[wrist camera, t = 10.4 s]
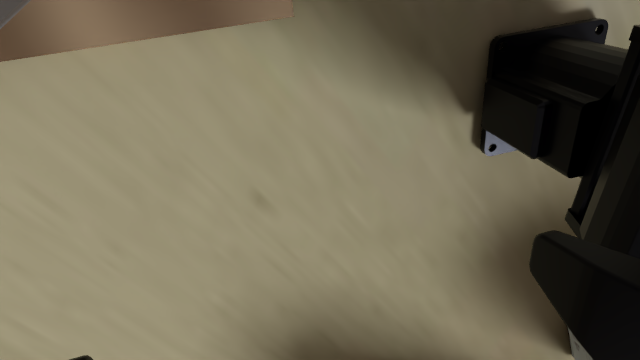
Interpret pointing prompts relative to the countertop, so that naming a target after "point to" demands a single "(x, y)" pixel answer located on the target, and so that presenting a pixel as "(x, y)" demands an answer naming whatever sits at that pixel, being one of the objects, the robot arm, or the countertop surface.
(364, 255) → the countertop surface
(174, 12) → the gear board
